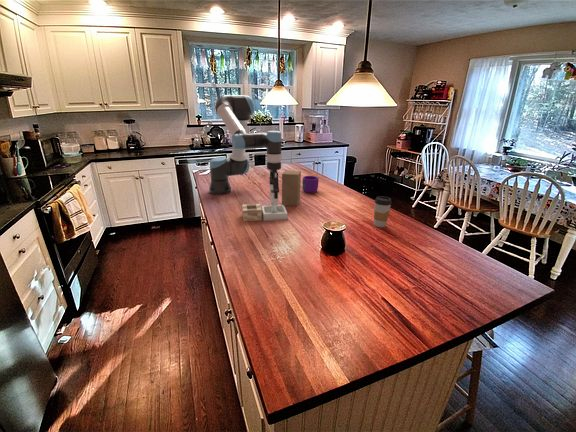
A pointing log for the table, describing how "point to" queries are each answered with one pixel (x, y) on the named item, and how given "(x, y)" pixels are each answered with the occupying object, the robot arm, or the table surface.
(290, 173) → the wooden block
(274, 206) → the glass vial with cap
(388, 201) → the coffee cup
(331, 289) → the table surface
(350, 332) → the table surface
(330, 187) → the table surface
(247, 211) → the hollow square frame
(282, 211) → the tray
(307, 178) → the mug
